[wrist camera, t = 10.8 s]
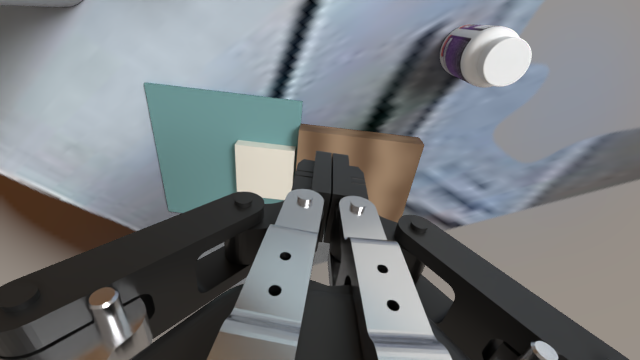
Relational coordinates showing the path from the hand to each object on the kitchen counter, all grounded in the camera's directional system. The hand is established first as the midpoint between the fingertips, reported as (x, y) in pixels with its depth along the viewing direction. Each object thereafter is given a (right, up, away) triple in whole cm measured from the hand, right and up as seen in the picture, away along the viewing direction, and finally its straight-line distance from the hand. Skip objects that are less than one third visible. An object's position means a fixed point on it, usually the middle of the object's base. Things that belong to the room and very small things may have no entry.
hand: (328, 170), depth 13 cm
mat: (-14, +2, +28) cm, 31 cm away
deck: (+4, 0, +29) cm, 29 cm away
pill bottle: (+16, +15, +20) cm, 29 cm away
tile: (-8, +1, +27) cm, 29 cm away
